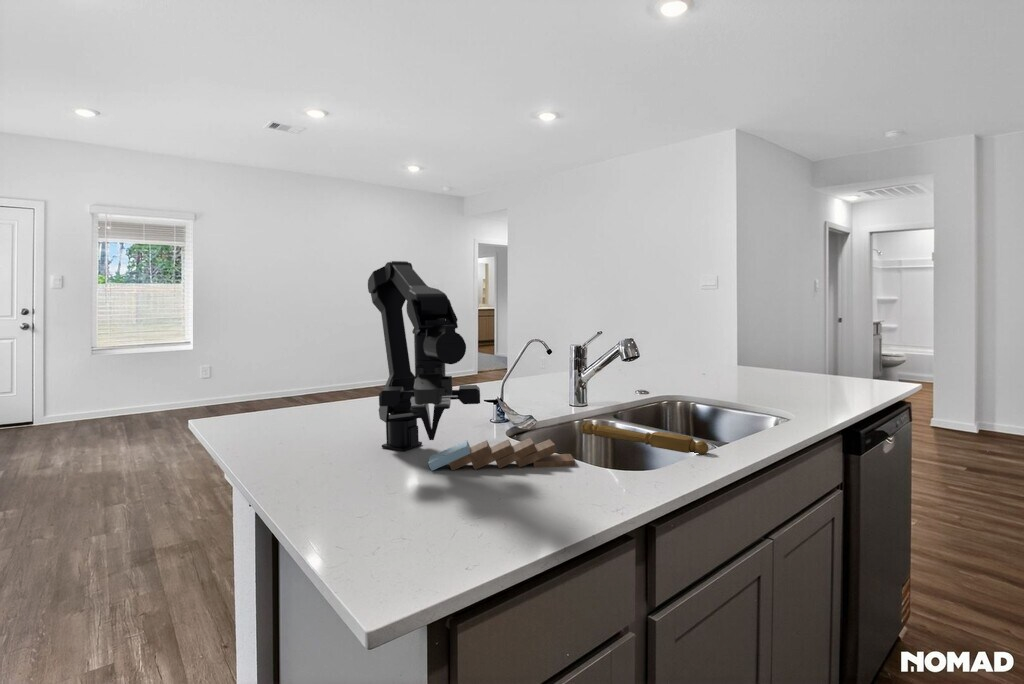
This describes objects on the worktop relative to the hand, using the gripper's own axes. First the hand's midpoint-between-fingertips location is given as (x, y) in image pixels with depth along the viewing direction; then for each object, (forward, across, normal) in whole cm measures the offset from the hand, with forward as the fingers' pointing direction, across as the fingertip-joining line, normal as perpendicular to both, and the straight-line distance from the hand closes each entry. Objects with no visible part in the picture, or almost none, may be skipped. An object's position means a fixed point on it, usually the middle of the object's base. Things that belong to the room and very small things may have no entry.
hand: (431, 439), depth 108 cm
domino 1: (+5, 0, 0) cm, 5 cm away
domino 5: (+5, +16, 0) cm, 17 cm away
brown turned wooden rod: (+6, +45, +13) cm, 48 cm away
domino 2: (+5, +4, 0) cm, 6 cm away
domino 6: (+5, +19, 0) cm, 20 cm away
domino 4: (+5, +12, 0) cm, 13 cm away
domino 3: (+5, +8, 0) cm, 9 cm away
